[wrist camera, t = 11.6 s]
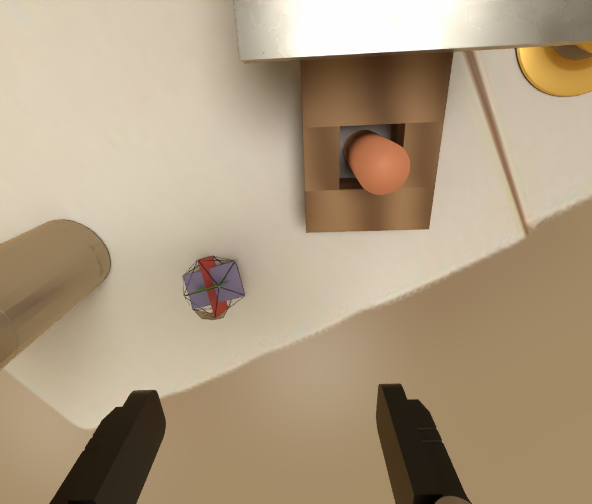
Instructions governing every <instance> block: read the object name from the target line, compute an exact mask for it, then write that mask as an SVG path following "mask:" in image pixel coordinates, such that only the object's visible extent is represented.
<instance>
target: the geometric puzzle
mask: <svg viewBox="0 0 592 504" xmlns="http://www.w3.org/2000/svg"><path fill="white" fill-rule="evenodd" d="M213 257H214V258H215V256H211V257H207V258H203V259H199V260H198V259H197V261H198V263H199V265H198V266H200V270H201V271H198V272H194V273H191V274H187V273H186V274H187V275H182V276H183V278H184V281H185V285H186V290H187V291H188V294H187V295H185V294H184V295H185V296H188V295H189V298H190V301H191V305H192V310H194V309H196V308H200V307H204V306H208V305H211V307H212V310H213V312H212V313H209V312H206V311H205V312H204V311H199V310H194V311H195V312H196V313H197V314H198V315H199V316H200V317H201V318H202V319H209V320H215V319H220V318H224V316H225V314H226V312H227V310H228V309H229V308H230V307H231V306H230V307H228V306H227V303H226V301H227V300H232V299H235V298H239V297H242V296H246V295H245V292H244V289H243V285H242V282H241V279H240V275H239V272H238V268H237V265H236V261H233V260H232V261H233V262H230V263H226V264H223V263H222V264H223V265H219V266H216V265H215V262H214V261H219V262H220V261H222V260H218V259H216V258H215V259H216V260H214V259H213ZM218 258H219V257H218ZM222 259H224V258H222ZM227 260H229V259H227ZM196 263H197V262H196ZM220 263H221V262H220ZM192 266H193V265H192ZM192 266H191V267H192ZM195 266H196V265H195ZM198 266H197V267H198ZM191 267H190V268H191ZM190 268H189V269H190ZM195 268H196V267H194V269H195ZM192 270H193V269H192ZM192 270H191V271H192ZM193 271H194V270H193ZM189 272H190V271H189ZM185 292H186V291H185ZM183 293H184V287H183ZM184 295H183V297H185V296H184ZM185 298H186V297H185ZM242 298H243V297H242ZM242 298H241V299H242ZM188 300H189V299H188ZM238 301H239V300H238ZM238 301H237V302H238ZM187 302H188V301H187ZM230 303H231V301H230ZM234 304H235V303H234ZM234 304H233V305H234ZM189 305H190V304H189ZM229 305H230V304H229ZM201 309H202V308H201ZM202 310H203V309H202Z"/></svg>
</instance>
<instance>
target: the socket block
mask: <svg viewBox="0 0 592 504" xmlns="http://www.w3.org/2000/svg"><path fill="white" fill-rule="evenodd" d="M452 58H453V52H438V53H420V54H403V55H385V56H367V57H349V58H331V59H314V60H301V84H302V114H303V144H304V174H305V204H306V233H309V232H345V231H380V230H416V229H429V225H430V217H431V210H432V203H433V196H434V189H435V181H436V174H437V167H438V160H439V152H440V145H441V138H442V131H443V123H444V116H445V109H446V102H447V94H448V87H449V80H450V73H451V65H452ZM378 124H392V127H391V140H390V141H392V142H394V143H396V144H398V145H400V146H401V147H402V148H404V150H405V151H406V152H407V154H408V156H409V160H410V171H409V175H408V177H407V179H406V181H405V182H404V184H403V185H402V186H401V187H400V188H399V189H397V190H396V191H394V192H392V193H389V194H385V195H376V194H372V193H370V192H368V191H366V190H365V189H364V188H363V187H362V186H361V184H360V183H359V181H358V179H357V178H339V159H340V126H356V125H378Z"/></svg>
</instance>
